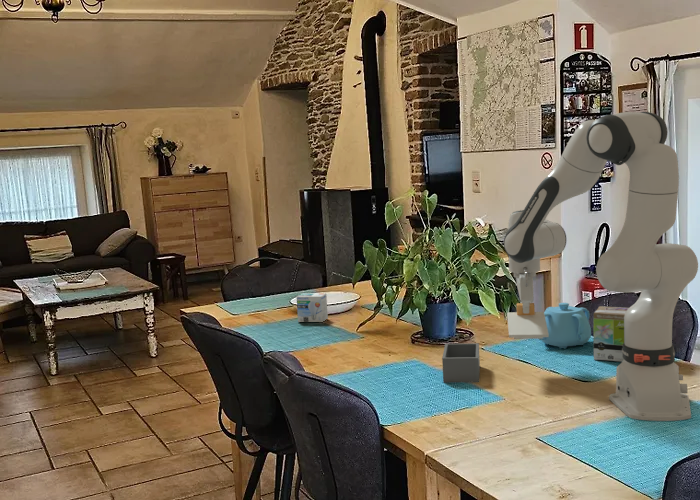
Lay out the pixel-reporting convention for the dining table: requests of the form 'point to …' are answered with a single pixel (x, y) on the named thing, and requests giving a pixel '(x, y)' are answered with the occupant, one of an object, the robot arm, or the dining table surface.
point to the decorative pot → (567, 326)
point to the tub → (461, 363)
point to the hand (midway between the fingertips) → (525, 311)
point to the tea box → (608, 333)
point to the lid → (527, 323)
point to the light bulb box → (312, 307)
